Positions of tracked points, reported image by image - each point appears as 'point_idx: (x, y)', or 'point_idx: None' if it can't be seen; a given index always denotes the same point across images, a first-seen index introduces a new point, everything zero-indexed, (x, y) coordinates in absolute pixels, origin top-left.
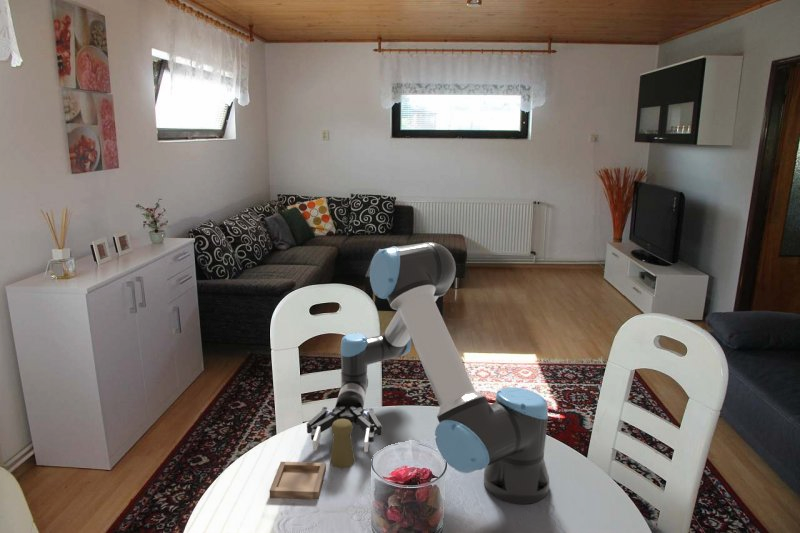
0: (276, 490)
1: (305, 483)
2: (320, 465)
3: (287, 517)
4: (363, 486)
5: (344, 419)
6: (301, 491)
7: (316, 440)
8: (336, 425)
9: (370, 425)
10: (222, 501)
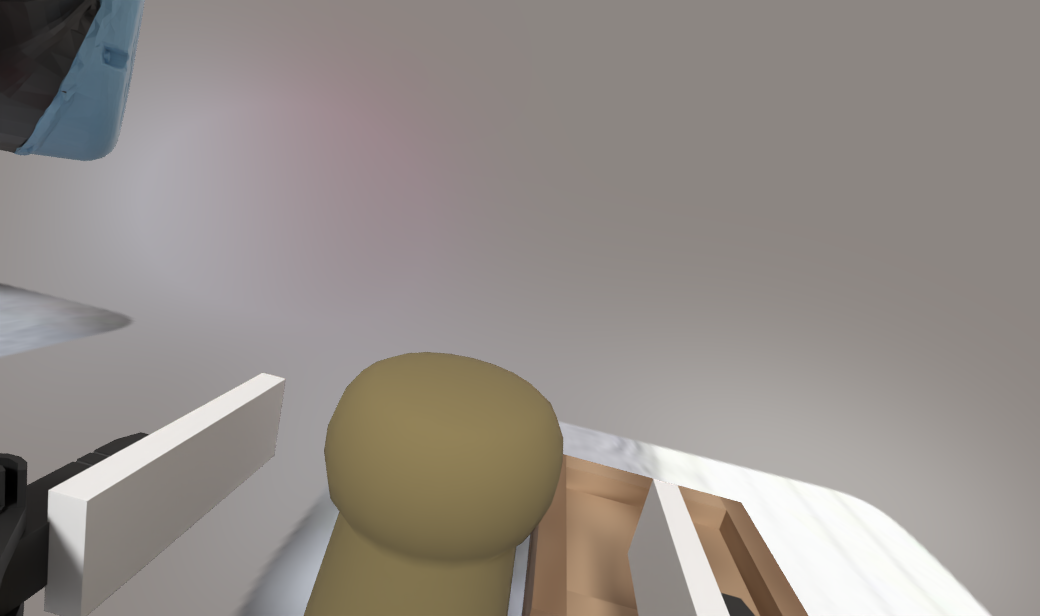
0: (713, 495)
1: (613, 540)
2: (565, 590)
3: (622, 454)
4: (328, 488)
5: (427, 396)
6: (611, 467)
7: (653, 500)
8: (518, 377)
9: (24, 470)
10: (894, 564)
